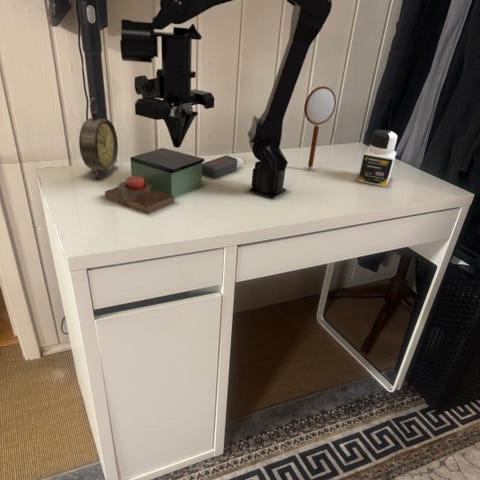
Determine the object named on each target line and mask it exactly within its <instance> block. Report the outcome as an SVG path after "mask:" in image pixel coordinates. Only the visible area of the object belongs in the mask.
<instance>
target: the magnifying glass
mask: <svg viewBox="0 0 480 480" xmlns="http://www.w3.org/2000/svg"><path fill="white" fill-rule="evenodd" d="M336 104H337V100H336V95H335V93H334V90H332V89H331V87H328V86H318V87H316V88H314V89H313V90H311V92H310V93H309V94H308V95H307V97H306V98H305V102H304V107H303V110H304V116H305V118H306V120H307V121H308V122H309V123H310V124H312V125H314V126H313V133H312V139H311V145H310V149H309V150H310V151H309V158H308V163H307V167H308V168H307V169H308V171H311V170H312V167H313V166H314V160H315V154H316V147H317V143H318V138H319V137H318V136H319V132H320V131H319V130H320V126H319V125H322V124H324V123H326V122H327V121H329V120H330V118H332V116H333V114H334V112H335V109H336Z"/></svg>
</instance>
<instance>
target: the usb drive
mask: <svg viewBox="0 0 480 480" xmlns="http://www.w3.org/2000/svg"><path fill="white" fill-rule="evenodd" d="M241 164H242V159H240V158H238V157H234V156H230V155H222V156H220V157H218V158H217V157H216V158H214V159H211V160H207V161H204V162H202V176H204V177H207V178H210V179H212V180H217V179H219V178H221V177H224V176H226V175H229V174H232V173H235V172H237V170H238V168H240V167H241V166H242V165H241Z"/></svg>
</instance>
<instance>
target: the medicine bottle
mask: <svg viewBox="0 0 480 480" xmlns="http://www.w3.org/2000/svg"><path fill="white" fill-rule="evenodd" d="M397 140H398V135H397V133H395V132H394V131H391V130H387V129H377V130H374V131H373V132H372V134H371V138H370V142H369V145H368V147H367V149H366V150H365V151H364V153H363V156H362V161H361V166H360V170H359V175H358V179H357V181H358V182H359V183H364V184H370V185H375V186H380V187H384V188H385V187H387V185H388V183H389V181H390V178H391V175H392V171H393V167H394V163H395V160H396V155H397V151H395V149H396V144H397Z"/></svg>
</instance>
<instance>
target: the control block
mask: <svg viewBox="0 0 480 480" xmlns="http://www.w3.org/2000/svg"><path fill="white" fill-rule="evenodd" d="M104 198H105V199H106V200H109V201H112V202H115V203H117V204H120V205H123V206H125V207H128V208H131V209H134V210H136V211H139V212H142V213H144V214H147V215H150V214H152V213H154V212H157V211H159V210H161V209H163V208H166V207H168V206H171V205H173V204H175V197H174V196H172V195H169V194H166V193H163V192H160V191H157V190H154V189H152V185H151V184H150V183H149V182H146V181H145V188H143V189H137V190H135V189H129V188H127V184H126V180H124V181H122V182H120V183H119V185H118V186H116V187H113V188H111V189H108V190H105V191H104Z"/></svg>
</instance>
